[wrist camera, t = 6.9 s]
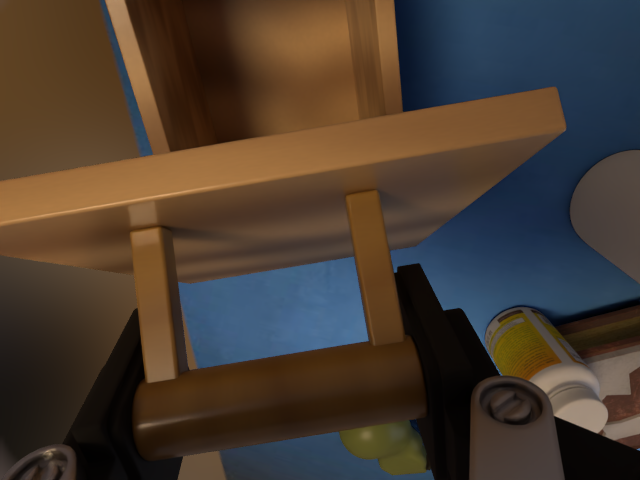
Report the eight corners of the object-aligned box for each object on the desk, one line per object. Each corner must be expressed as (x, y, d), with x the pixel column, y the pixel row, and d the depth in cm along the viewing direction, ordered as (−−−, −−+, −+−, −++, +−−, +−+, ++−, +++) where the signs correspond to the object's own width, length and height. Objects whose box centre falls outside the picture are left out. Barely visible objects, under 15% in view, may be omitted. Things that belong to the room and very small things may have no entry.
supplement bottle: (474, 354, 42) (526, 449, 33) (493, 300, 40) (555, 387, 30) (534, 359, 43) (601, 454, 33) (555, 306, 40) (635, 393, 31)
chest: (160, -40, 28) (80, -74, 17) (348, -73, 28) (384, -128, 17) (220, 191, 34) (189, 271, 24) (374, 165, 34) (413, 234, 24)
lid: (-99, 195, 8) (-86, 534, 7) (558, 83, 8) (641, 419, 7) (187, 267, 23) (201, 380, 23) (413, 230, 23) (435, 342, 22)
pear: (329, 390, 43) (391, 437, 48) (321, 449, 39) (389, 493, 44) (380, 376, 40) (441, 427, 45) (377, 438, 36) (443, 487, 41)
